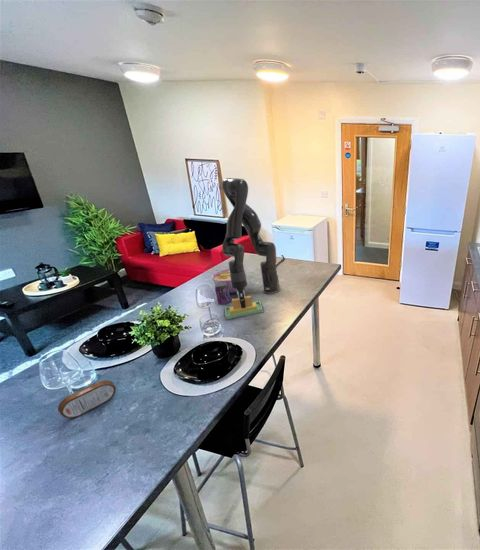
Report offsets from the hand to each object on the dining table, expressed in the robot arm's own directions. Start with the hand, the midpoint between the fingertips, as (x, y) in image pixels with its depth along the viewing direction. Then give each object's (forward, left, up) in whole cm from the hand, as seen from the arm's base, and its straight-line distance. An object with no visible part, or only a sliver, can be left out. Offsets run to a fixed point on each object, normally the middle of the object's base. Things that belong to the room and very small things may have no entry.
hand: (243, 304), depth 163 cm
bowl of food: (-19, -24, -4) cm, 31 cm away
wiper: (0, 0, -4) cm, 4 cm away
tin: (+72, -8, -4) cm, 73 cm away
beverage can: (-5, -18, -4) cm, 19 cm away
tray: (0, 0, -4) cm, 4 cm away
